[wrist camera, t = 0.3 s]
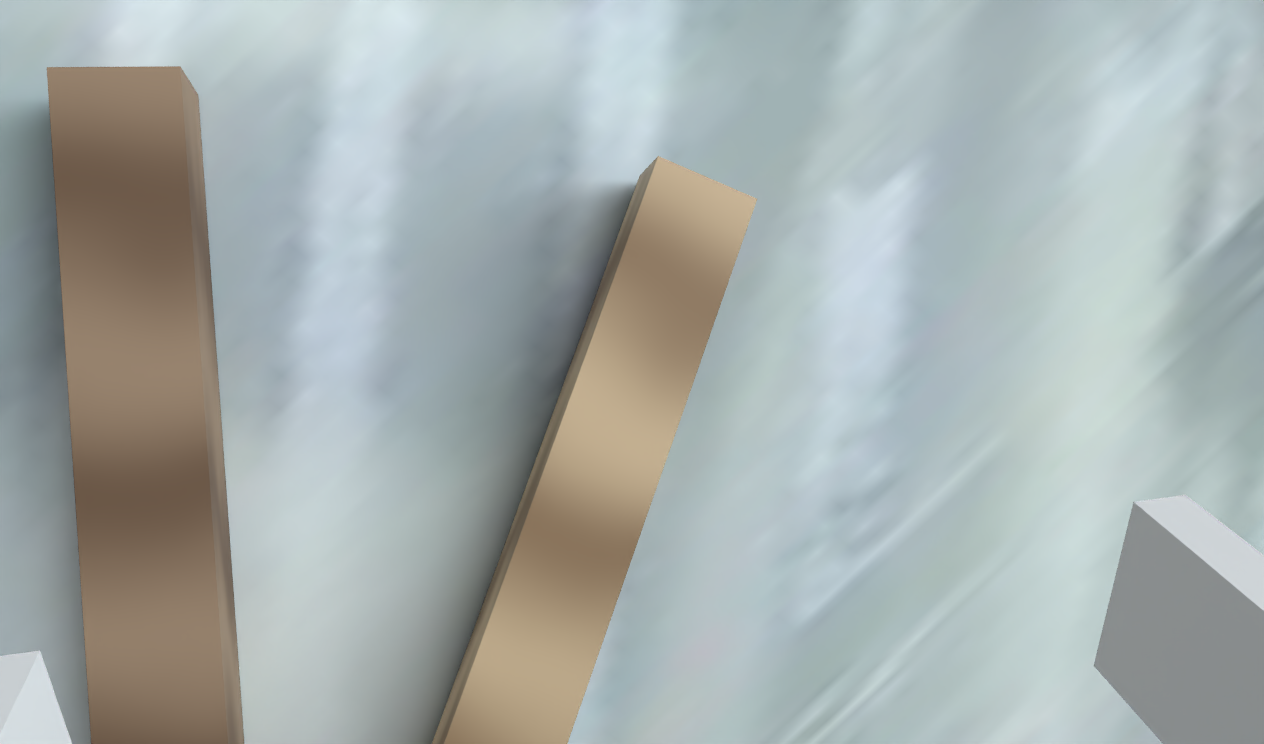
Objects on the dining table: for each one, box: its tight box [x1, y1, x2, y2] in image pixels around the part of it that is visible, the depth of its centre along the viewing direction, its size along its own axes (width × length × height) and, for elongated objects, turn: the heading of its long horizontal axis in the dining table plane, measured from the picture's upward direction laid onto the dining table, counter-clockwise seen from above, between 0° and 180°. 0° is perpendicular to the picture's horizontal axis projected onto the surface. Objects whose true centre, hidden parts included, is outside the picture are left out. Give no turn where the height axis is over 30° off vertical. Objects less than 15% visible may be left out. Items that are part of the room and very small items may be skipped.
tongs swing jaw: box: [432, 156, 757, 744], centre depth 27 cm, size 22×3×2 cm, turn 160°
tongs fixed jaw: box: [47, 67, 244, 744], centre depth 25 cm, size 30×7×3 cm, turn 5°
